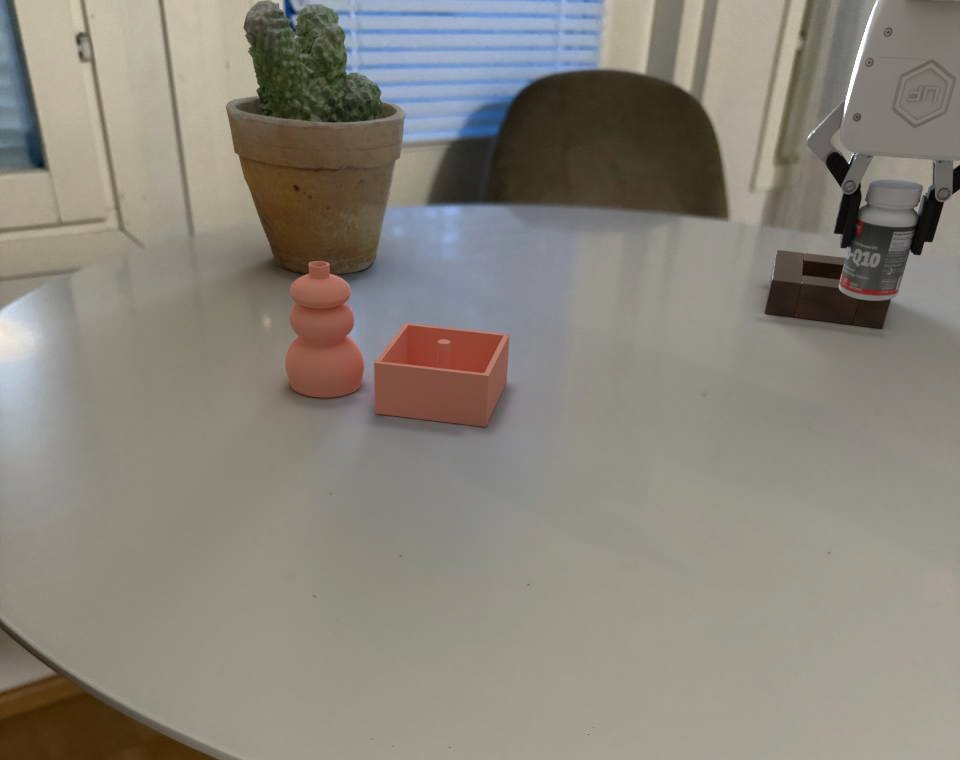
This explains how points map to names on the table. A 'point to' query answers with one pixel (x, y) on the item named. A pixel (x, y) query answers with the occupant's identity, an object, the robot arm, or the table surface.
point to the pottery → (393, 358)
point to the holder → (818, 292)
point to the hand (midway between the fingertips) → (879, 244)
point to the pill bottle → (881, 240)
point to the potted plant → (314, 142)
